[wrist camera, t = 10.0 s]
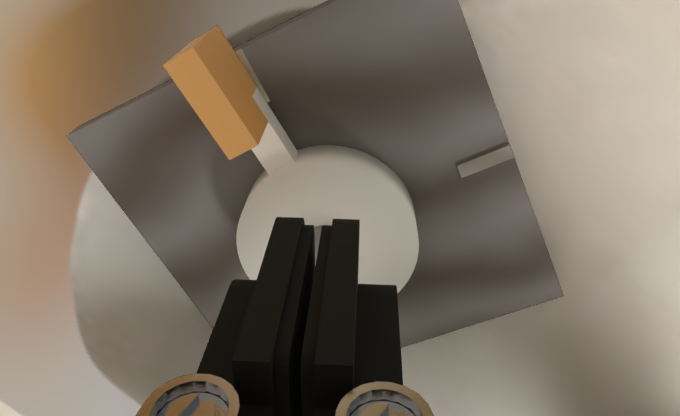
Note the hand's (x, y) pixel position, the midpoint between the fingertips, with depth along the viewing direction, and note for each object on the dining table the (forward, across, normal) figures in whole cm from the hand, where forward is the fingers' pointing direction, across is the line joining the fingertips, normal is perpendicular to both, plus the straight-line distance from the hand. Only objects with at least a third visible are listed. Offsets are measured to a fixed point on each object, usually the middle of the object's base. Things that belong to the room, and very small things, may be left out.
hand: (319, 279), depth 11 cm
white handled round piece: (+19, +3, +7) cm, 20 cm away
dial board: (+21, +1, +10) cm, 23 cm away
